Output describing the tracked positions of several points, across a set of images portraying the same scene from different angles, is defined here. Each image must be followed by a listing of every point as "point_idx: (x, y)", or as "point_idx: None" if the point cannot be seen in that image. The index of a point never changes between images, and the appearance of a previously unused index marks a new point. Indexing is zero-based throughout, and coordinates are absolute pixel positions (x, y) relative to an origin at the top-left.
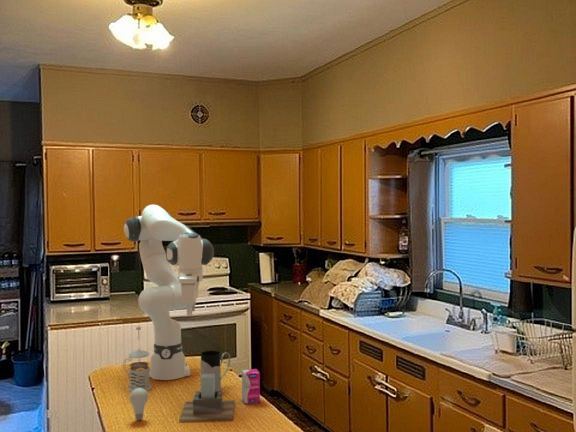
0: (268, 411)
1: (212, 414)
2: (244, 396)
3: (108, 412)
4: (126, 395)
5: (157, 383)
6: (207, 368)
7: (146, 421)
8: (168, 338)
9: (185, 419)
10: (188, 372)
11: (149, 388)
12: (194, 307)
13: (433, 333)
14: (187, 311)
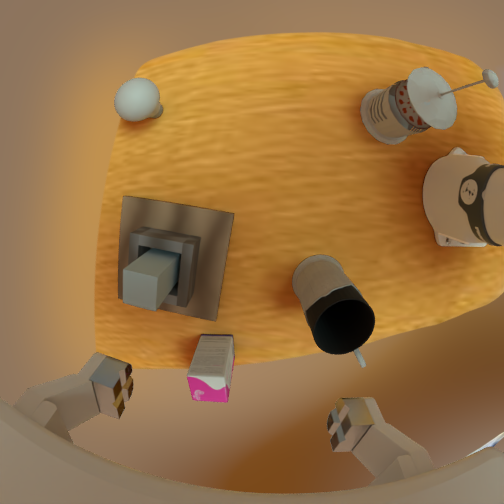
0: (159, 359)
1: None
2: (202, 342)
3: (226, 47)
4: (340, 81)
5: (410, 161)
6: (308, 297)
7: (146, 127)
8: (499, 206)
9: (122, 208)
10: (444, 242)
11: (376, 136)
12: (332, 444)
13: None
14: (80, 376)
